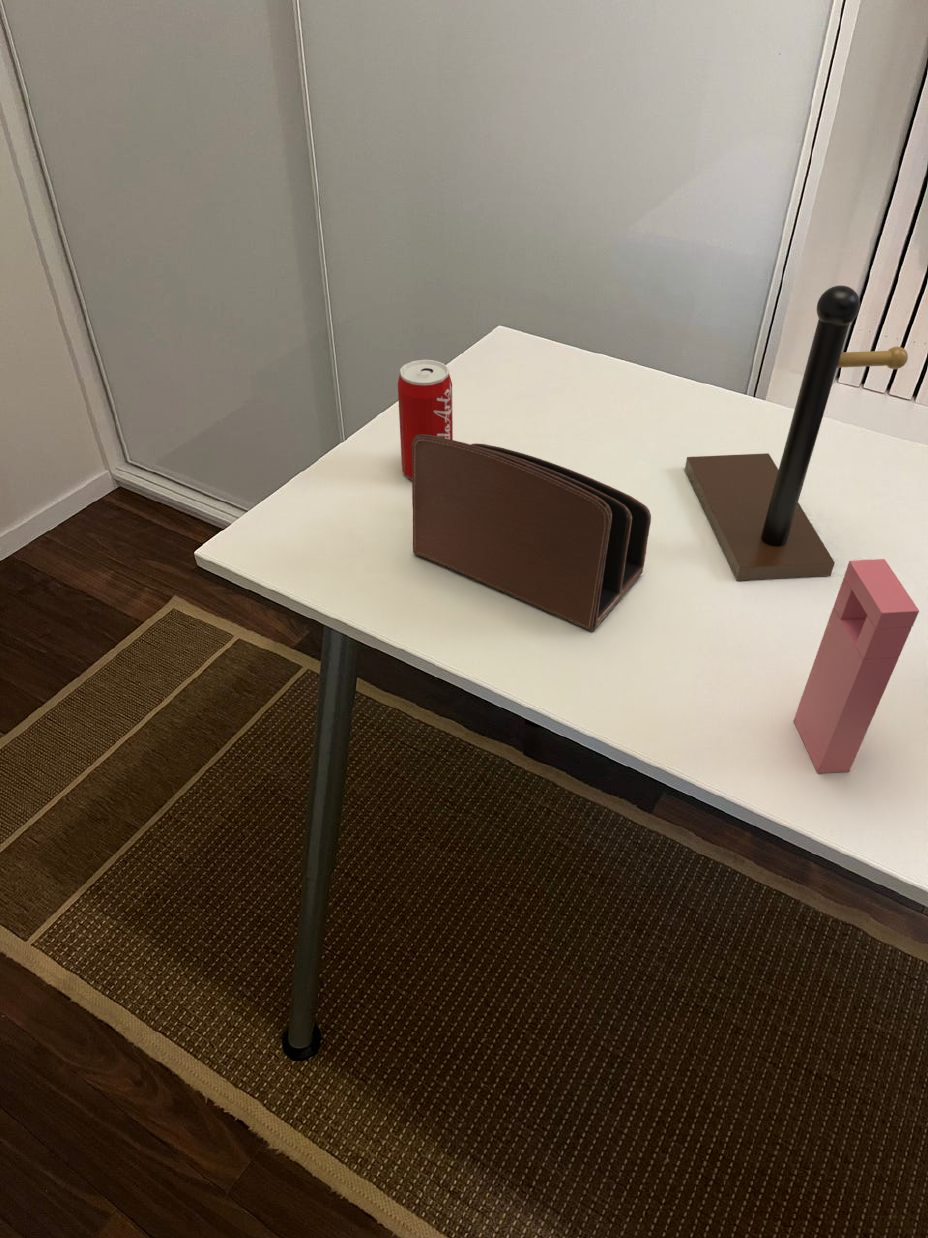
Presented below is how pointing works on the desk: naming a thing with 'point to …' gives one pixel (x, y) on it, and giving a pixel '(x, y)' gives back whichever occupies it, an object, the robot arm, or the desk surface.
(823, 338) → the stand
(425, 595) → the desk surface
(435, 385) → the soda can
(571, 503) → the letter holder
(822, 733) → the pink block with hole
